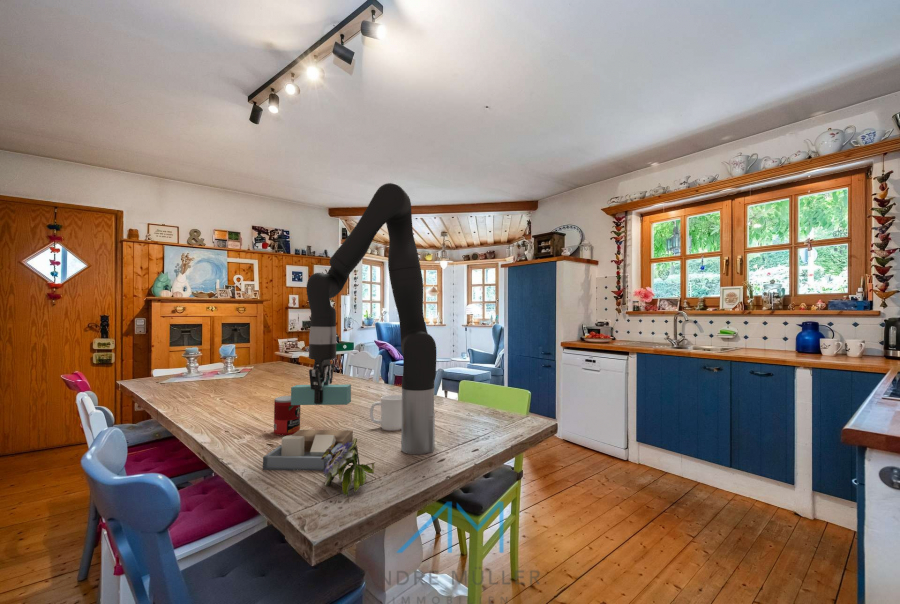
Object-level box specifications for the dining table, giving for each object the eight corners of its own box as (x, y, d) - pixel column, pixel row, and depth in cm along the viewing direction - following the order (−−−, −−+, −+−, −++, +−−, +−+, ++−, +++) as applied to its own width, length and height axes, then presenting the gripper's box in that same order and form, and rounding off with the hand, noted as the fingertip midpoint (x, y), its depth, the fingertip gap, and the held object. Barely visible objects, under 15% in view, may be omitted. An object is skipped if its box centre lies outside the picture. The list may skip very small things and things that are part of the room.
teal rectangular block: (351, 401, 112) (350, 384, 112) (346, 404, 108) (346, 386, 108) (297, 402, 112) (297, 384, 112) (291, 405, 108) (291, 387, 108)
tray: (341, 454, 103) (342, 443, 104) (327, 470, 92) (327, 458, 93) (283, 453, 104) (284, 442, 104) (262, 469, 93) (263, 457, 93)
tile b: (304, 436, 102) (300, 439, 99) (304, 455, 101) (299, 458, 99) (286, 435, 102) (281, 438, 100) (286, 454, 102) (281, 457, 99)
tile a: (335, 440, 104) (334, 434, 102) (331, 457, 100) (329, 452, 98) (317, 440, 104) (315, 434, 102) (312, 457, 100) (310, 452, 99)
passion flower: (329, 510, 84) (318, 456, 90) (377, 492, 89) (364, 442, 95) (328, 500, 76) (316, 442, 82) (381, 481, 80) (366, 426, 86)
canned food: (290, 436, 119) (291, 401, 119) (268, 435, 120) (268, 399, 121) (304, 429, 126) (305, 396, 127) (283, 428, 128) (284, 394, 128)
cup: (407, 429, 127) (407, 398, 127) (370, 432, 123) (371, 401, 123) (403, 423, 134) (403, 393, 135) (368, 425, 131) (368, 395, 131)
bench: (352, 442, 113) (352, 430, 114) (341, 454, 103) (342, 441, 104) (299, 441, 114) (299, 429, 114) (283, 453, 104) (284, 440, 104)
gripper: (327, 344, 104) (325, 407, 103) (343, 340, 118) (342, 397, 117) (299, 343, 104) (298, 407, 103) (319, 340, 118) (317, 396, 117)
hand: (321, 401), depth 110 cm, fingers closed on teal rectangular block, 4 cm apart
